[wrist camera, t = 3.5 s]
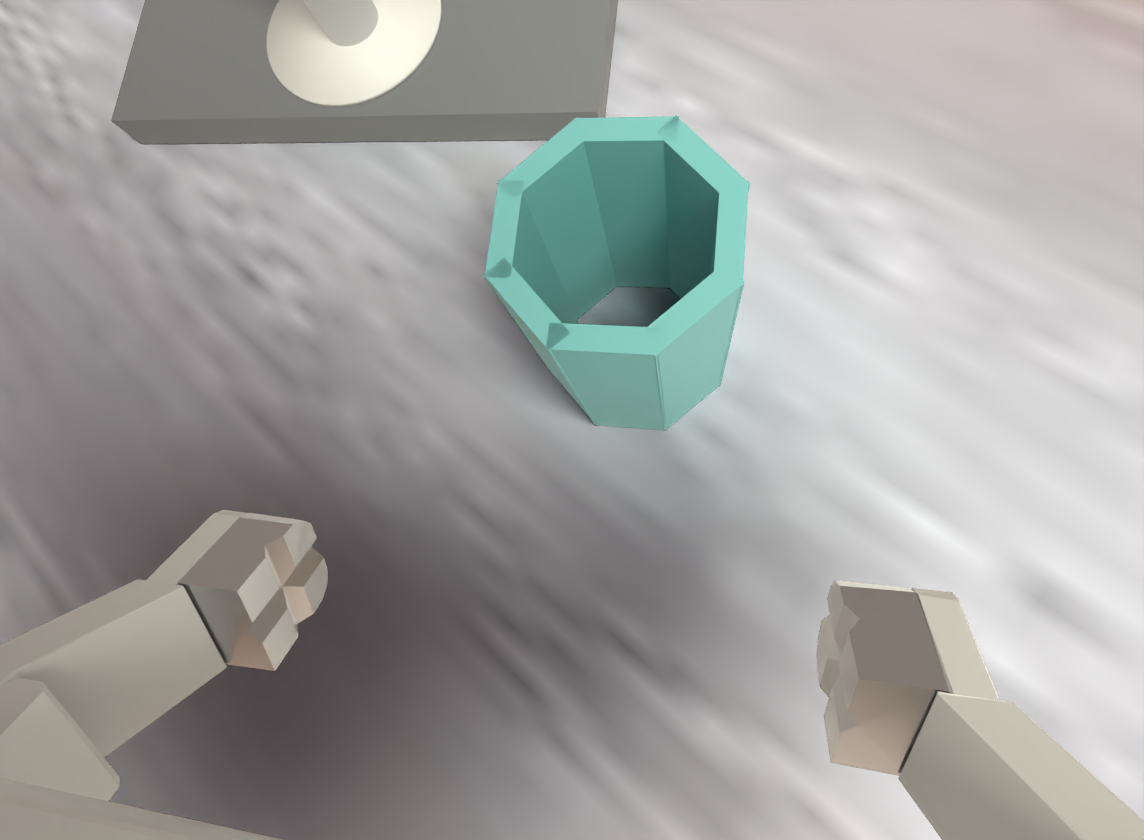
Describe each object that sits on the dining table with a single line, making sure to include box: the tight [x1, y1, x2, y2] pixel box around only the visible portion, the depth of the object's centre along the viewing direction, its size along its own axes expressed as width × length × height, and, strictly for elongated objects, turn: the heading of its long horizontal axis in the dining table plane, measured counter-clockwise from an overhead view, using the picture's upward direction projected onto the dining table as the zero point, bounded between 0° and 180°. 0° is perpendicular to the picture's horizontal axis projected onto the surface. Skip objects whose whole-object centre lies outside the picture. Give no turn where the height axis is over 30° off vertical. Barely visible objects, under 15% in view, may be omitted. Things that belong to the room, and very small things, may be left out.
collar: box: [484, 116, 750, 431], centre depth 18 cm, size 6×6×8 cm
